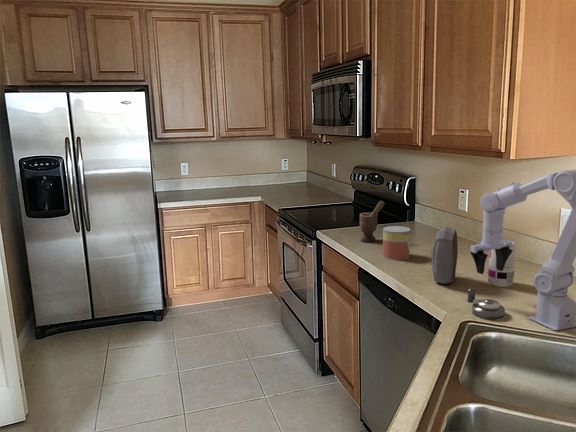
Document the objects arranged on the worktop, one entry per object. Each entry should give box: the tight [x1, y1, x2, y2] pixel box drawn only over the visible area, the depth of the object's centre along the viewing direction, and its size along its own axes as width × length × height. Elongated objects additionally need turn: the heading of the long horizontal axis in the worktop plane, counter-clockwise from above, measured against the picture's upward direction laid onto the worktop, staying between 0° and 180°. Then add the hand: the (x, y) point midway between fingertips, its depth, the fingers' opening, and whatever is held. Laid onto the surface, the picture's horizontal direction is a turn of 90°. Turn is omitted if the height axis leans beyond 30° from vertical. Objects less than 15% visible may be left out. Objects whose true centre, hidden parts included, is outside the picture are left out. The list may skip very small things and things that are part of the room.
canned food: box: [382, 225, 411, 261], centre depth 201 cm, size 11×11×12 cm
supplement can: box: [487, 239, 517, 288], centre depth 165 cm, size 8×8×15 cm
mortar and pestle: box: [359, 200, 386, 243], centre depth 227 cm, size 12×9×20 cm
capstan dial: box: [467, 287, 501, 310], centre depth 143 cm, size 10×6×4 cm, turn 41°
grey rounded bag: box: [430, 226, 459, 284], centre depth 170 cm, size 15×8×20 cm, turn 153°
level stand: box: [471, 303, 506, 321], centre depth 142 cm, size 9×9×2 cm
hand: (489, 271), depth 151 cm, fingers open, 7 cm apart
